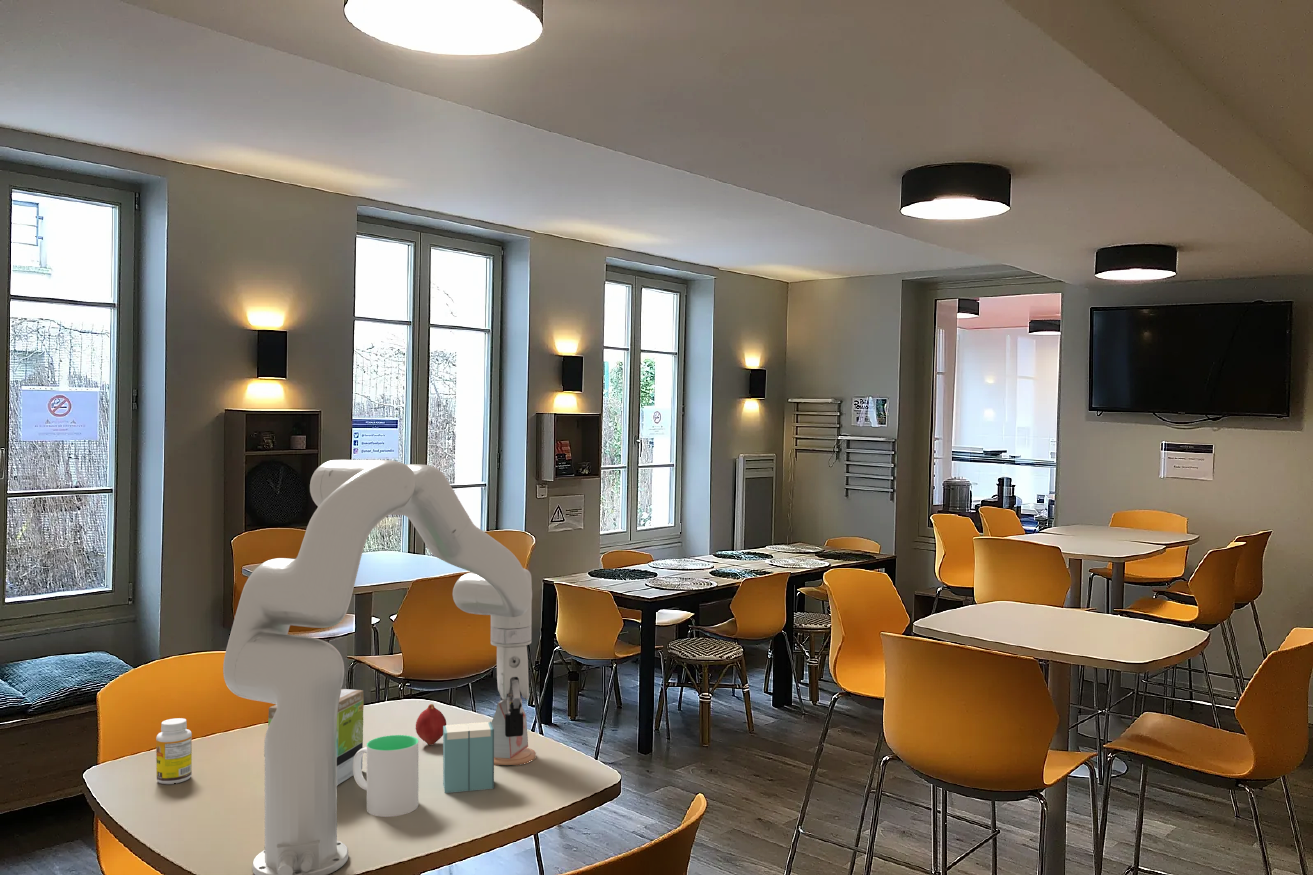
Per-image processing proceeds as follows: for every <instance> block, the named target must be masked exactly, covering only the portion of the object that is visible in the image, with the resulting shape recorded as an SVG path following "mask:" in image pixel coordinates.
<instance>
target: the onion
mask: <svg viewBox="0 0 1313 875" xmlns="http://www.w3.org/2000/svg"><path fill="white" fill-rule="evenodd" d="M446 725H447V720H446V717H445V716H444V714H443V713H442V711H440V710H439V709H437V708H436V707H435V706H434V704H433V703H430V704H428V707H427V708H426V709H424V710H423V711H422V712H421V713H420V714H419V715H418V716H417V719H416V722H415V732H416V734H417V736H418V737H419V738H420V739H421V740H422V741H424V742H425V743H426V744H427V745H429V746H433V745H435V744H436V743H438V741H439V740H440V739H441V738H442V737H443V726H446Z"/></svg>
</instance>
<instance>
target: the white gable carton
mask: <svg viewBox="0 0 1313 875" xmlns="http://www.w3.org/2000/svg"><path fill="white" fill-rule="evenodd" d="M510 697H512V696H510ZM499 701H500V700H499ZM510 704H511V702H510ZM522 710H523V735H522V736H514V737H506V735H505V714H507V709H506V701H505V700H502V701H500V702H497V703H496V709H495V712H494V715H493V717H492V720H491V723H492V725H493V728H494V757H496V758H512V757H513V756H515V755H516V754H518V753H519V752H521V751H522V750H524V749H525V748H529V737H528V721H527V714H526V711H525V710H524V707H523V706H522Z"/></svg>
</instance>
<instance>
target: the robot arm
mask: <svg viewBox="0 0 1313 875" xmlns="http://www.w3.org/2000/svg"><path fill="white" fill-rule="evenodd" d="M309 493H310V496H311V499H312V501H313V502H314V504H315V505H316V506H317V508H316V509H315V510H314V512H313V514H312V516H311V518H310V519H309V522H308V524H307V527H306V529H305V533H304V535H303V536H304V537H303V539H302V542H301V545H300V549H299V551H298V554H297V556H296V558H288V557H287V558H286V557H277V558H272V559H268V560H266V561H264V562H262V563H261V564H260V565H258V566H257V567H256V568H254V570H253V571H252V572H251V573H250V575H249V577H248V578H247V580H246V582H245V583H244V586H243V589H242V591H241V594H240V599H239V601H238V605H237V609H236V611H235V612H236V613H235V615H234V619H233V624H232V626H231V631H230V635H229V636H228V637H229V639H228V640H227V641H228V642H227V645H226V649H225V653H224V658H223V664H222V665H223V668H222V670H223V671H222V672H223V679H224V682H225V685H226V686H227V688H228V689H229V691H230V692H231V693H232V694H234V695H236V696H237V697H240V698H243V699H247V700H250V701H257V702H263V703H269V704H273V705H276V704H277V709H276V712H275V714H274V717H273V719H272V721H271V722H270V725H269V727H268V726H267V729H266V732H265V733H266V734H265V736H264V744H263V745H264V746H263V747H264V749H263V750H264V751H263V752H264V754H263V757H264V850H262V851H260V852H259V853H258V854H257V855H256V856H255V857H254V859H253V861H252V872H253V874H254V875H330V874H331V873H332V874H333V873H334V872H335V871H337V870H339V869H340V868H342V867H343V866H344V865H345V864H346V863H347V861H348V860H349V848H348V846H347V845H346V844H345V843H343V841H340V840H338V831H337V830H338V828H337V827H338V823H337V822H338V818H337V817H338V814H337V813H338V809H337V808H338V807H337V806H338V805H337V804H338V801H337V800H338V798H337V797H338V785H337V714H338V705H339V699H340V694H341V689H343V684H344V677H345V662H344V659H343V656H342V655H341V653H340V651H339V650H338V649H337V648H336V647H335V646H334V645H333V644H331V643H329V642H328V641H326V640H323V639H319V638H317V637H312V636H304V635H296V634H288V633H289V630H290V627H291V626H294V627H305V628H318V629H324V628H325V629H326V628H327V629H328V628H331V627H334V626H337V625H338V624H340V623H341V622H342V621H343V620H344V618H345V616H346V615H347V612H348V609H349V608H350V607H349V606H350V603H351V599H352V596H353V591H354V587H355V583H356V581H357V576H358V572H359V568H360V564H361V559H362V556H363V552H364V548H365V545H366V543H367V540H368V538H369V536H370V534H371V533H372V531H373V530H374V529H375V527H376V526H377V525H378V524H379V523H381V521H383V520H385V518H387V517H388V516H391V515H392V516H394V515H395V516H404V517H407V518H408V519H409V521H410V522H411V524H412V525H413V527H414V528H415V529H416V532H417V533H418V534H419V536H420V538H421V539H422V541H423V542H424V544H425V546H426V547H427V548H428V550H429V552H430V554H432V555H433V556H434V557H436V558H437V559H439V560H441V561H443V562H445V563H447V564H450V565H451V566H454V567H457V568H459V569H462V570H465V571H467V573H465V574H463V575H461V576H460V577H458V579H457V580H456V582H455V584H454V586H453V588H452V599H453V602H454V604H455V606H456V607H457V608H458V609H460V610H461V611H463V612H465V613H467V614H474V615H482V616H490V645H491V646H494V647H496V680H497V681H496V682H497V691H498V692H499V697H500V698H499V702H500V701H502V700H505V701H506V709H507V714H505V735H506V737H514V736H522V735H523V710H522V707H523V700H522V699H524V700H528V699H529V698H530V687H529V686H530V685H529V684H530V683H529V659H528V658H529V657H528V648H527V646H528V645H530V644H532V621H533V620H532V617H533V616H532V606H533V605H532V600H533V590H532V588H533V586H532V585H533V584H532V573H531V571H530V570H528V569H526V568H524V567H523V565H522V564H521V562H520V561H519V559H518V558H517V557H516V556H515V555H516V554H514V553H513V552H512V551H511V550H510V549H509V548H507V546H504V545H503V544H502V543H501V542H499V541H498V540H496V539H495V538H494V537H492V536H491V535H490V534H488V533H487V532H486V531H484V530H482V529H481V528H479V527H477V525H475V524H474V522H473V521H472V519H471V518H470V516H469V514H468V512H467V511H466V510H465V508H464V506H463V504H462V503H461V501H460V499H459V497H458V495H457V494H456V492H455V490H454V489H453V487H452V485H451V484H450V482H449V480H448V479H447V478H446V476H445V474H444V473H443V472H442V471H441V470H440V469H438V468H437V467H436V466H432V465H428V464H418V463H417V464H414V463H411V464H410V463H409V464H407V463H406V464H405V463H403V462H400V461H397V460H393V459H391V460H389V459H332V460H328V461H326V462H323V463H322V464H321V465H319V466H318V467H317V468H316V469H315V470H314V472H313V474H312V476H311V478H310V484H309ZM510 696H512V697H510ZM499 702H498V703H499ZM510 702H511V704H510Z"/></svg>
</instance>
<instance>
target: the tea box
mask: <svg viewBox="0 0 1313 875" xmlns="http://www.w3.org/2000/svg"><path fill="white" fill-rule="evenodd" d="M364 697H365V696H364V690H363V689H362V690H361V689H349V688H348V689H347V688H342V689H341V694H340V699H339V705H338V714H337V786H338V785H340V784H342V783H343V782H346V781H347V780H348V779H350V778H351V777H354V775H353V760H354V756H355V754H356V753H357V752H358V751H359V750H360V749H362V748H364V745H363V744H364ZM276 709H277V704H273V705H272V706H270V707H269V708H268V715H267V716H268V723H267V724H268V726H267V728H268V727H269V725H270V722H271V721H272V719H273V717H274V714H275V712H276ZM363 762H364V761H363V755H362V758H361V771H362V770H363Z"/></svg>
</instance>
